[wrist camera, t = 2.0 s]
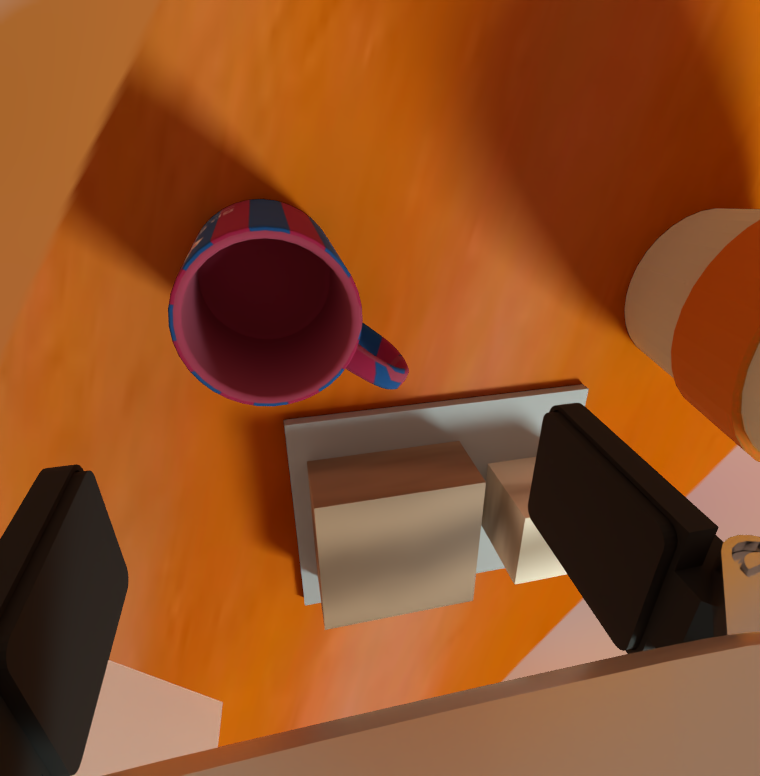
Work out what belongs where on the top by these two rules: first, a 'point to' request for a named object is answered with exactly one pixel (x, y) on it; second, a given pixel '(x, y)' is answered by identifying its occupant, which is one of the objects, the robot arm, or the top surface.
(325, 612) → the walnut slab
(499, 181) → the top surface
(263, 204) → the cup
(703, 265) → the reusable coffee cup
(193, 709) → the milk
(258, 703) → the top surface
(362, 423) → the board
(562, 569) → the birch cube
